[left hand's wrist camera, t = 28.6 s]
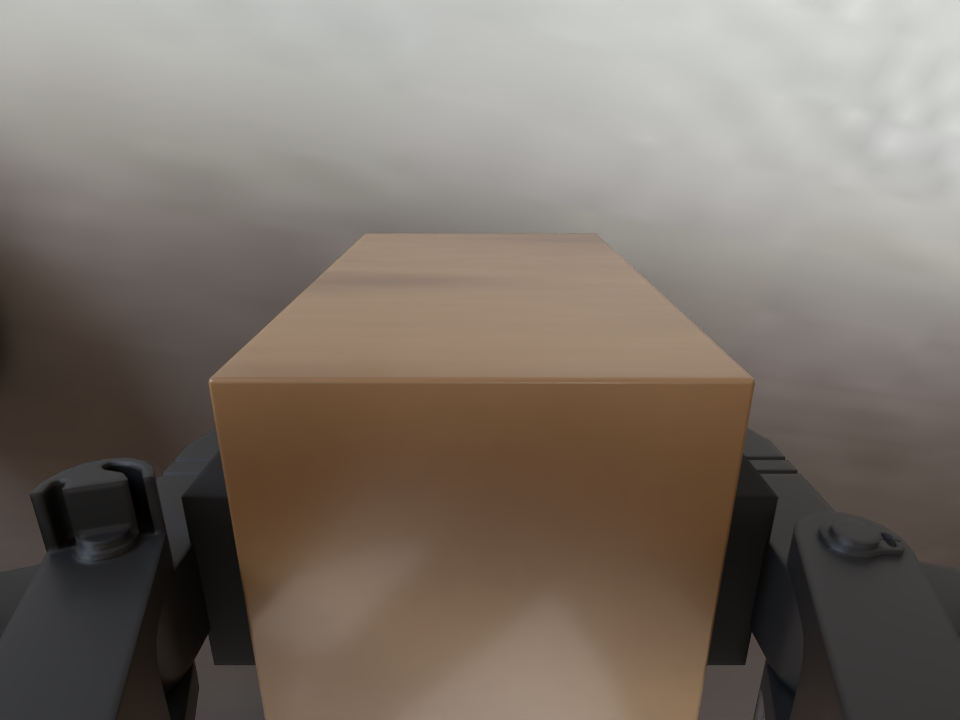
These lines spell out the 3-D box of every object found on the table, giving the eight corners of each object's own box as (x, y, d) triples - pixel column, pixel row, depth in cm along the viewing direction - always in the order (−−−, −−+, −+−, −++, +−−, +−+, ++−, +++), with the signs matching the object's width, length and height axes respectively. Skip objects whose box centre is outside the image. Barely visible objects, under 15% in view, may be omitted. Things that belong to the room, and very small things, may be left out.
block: (583, 446, 18) (689, 776, 9) (378, 446, 18) (272, 776, 9) (597, 232, 15) (757, 379, 7) (364, 233, 15) (205, 378, 7)
